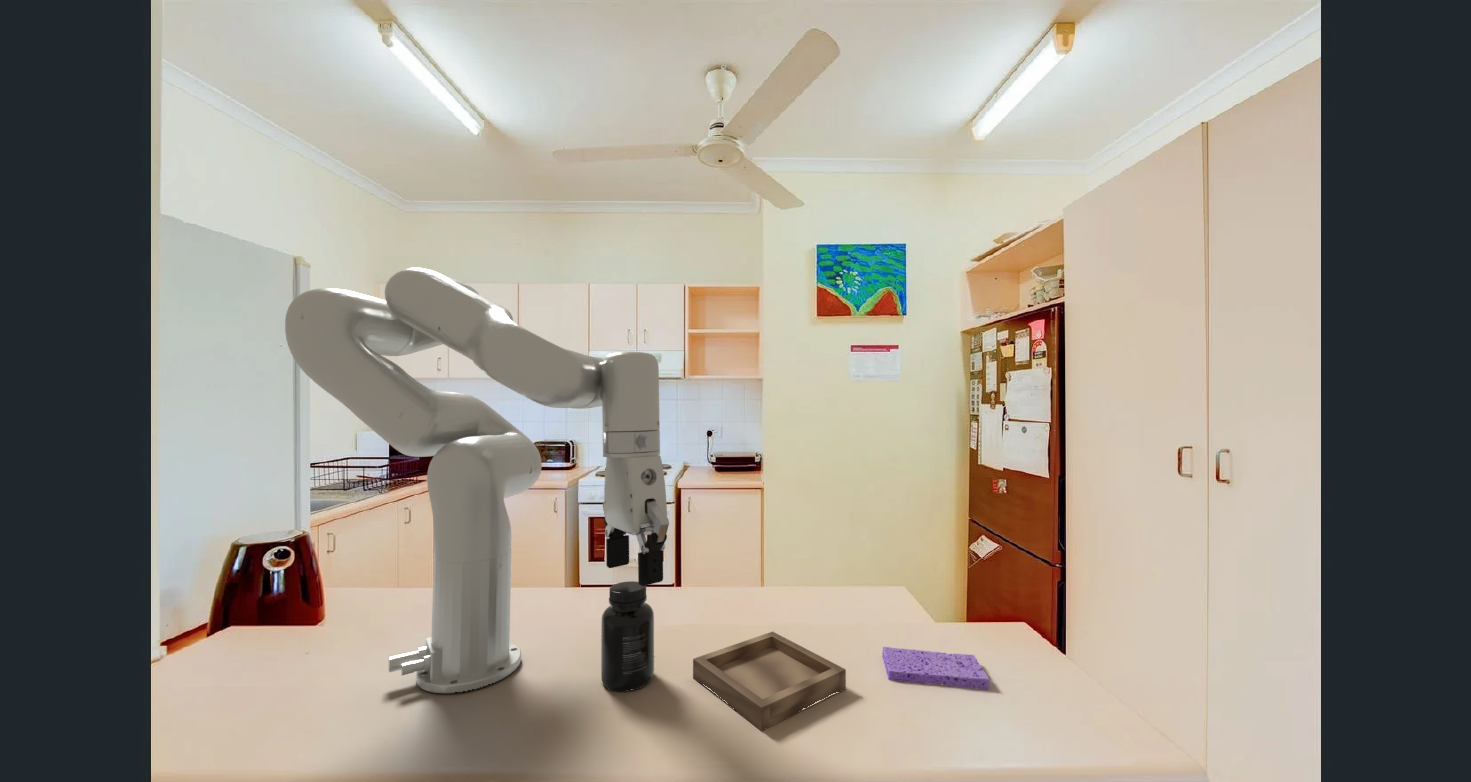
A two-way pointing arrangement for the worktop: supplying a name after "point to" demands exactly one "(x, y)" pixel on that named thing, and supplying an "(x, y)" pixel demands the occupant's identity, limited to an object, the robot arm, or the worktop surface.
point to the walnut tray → (768, 678)
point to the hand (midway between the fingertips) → (633, 574)
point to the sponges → (934, 668)
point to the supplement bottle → (627, 638)
